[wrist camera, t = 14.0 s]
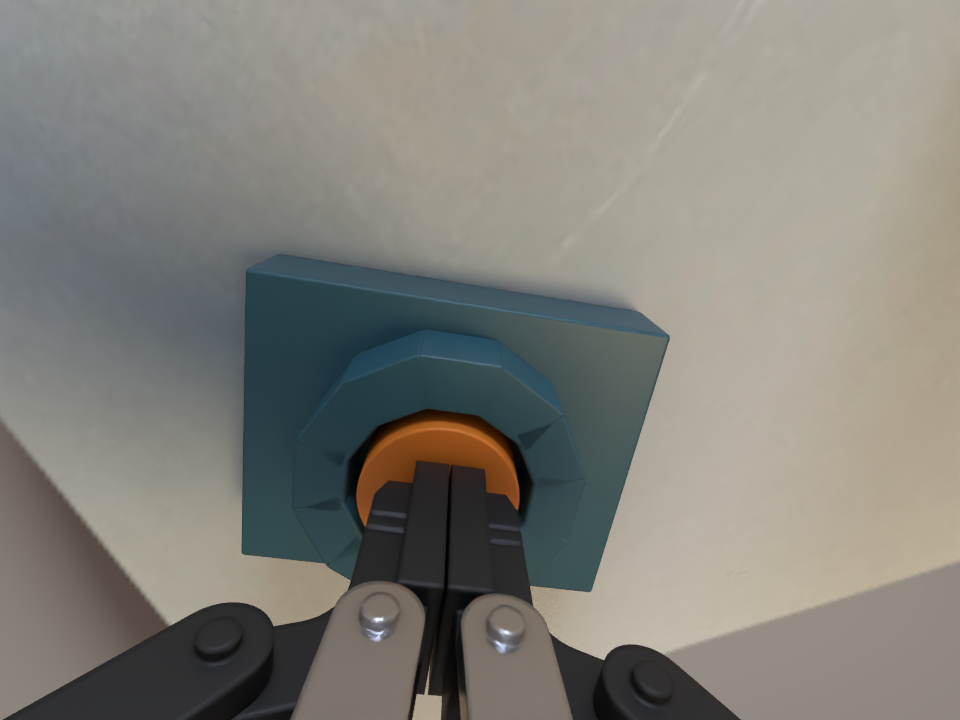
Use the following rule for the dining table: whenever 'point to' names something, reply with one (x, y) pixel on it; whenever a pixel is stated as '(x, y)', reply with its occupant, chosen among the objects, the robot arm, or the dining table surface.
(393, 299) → the button block
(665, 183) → the dining table surface
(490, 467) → the push button
